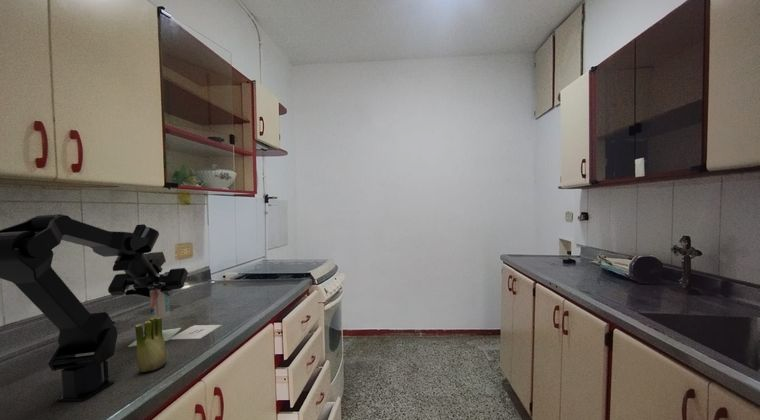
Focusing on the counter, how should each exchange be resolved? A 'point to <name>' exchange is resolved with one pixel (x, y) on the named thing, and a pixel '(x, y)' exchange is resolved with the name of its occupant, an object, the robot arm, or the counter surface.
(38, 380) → the counter surface
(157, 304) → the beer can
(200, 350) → the counter surface
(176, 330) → the sage mat
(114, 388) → the counter surface
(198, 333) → the card
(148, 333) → the fennel bulb
